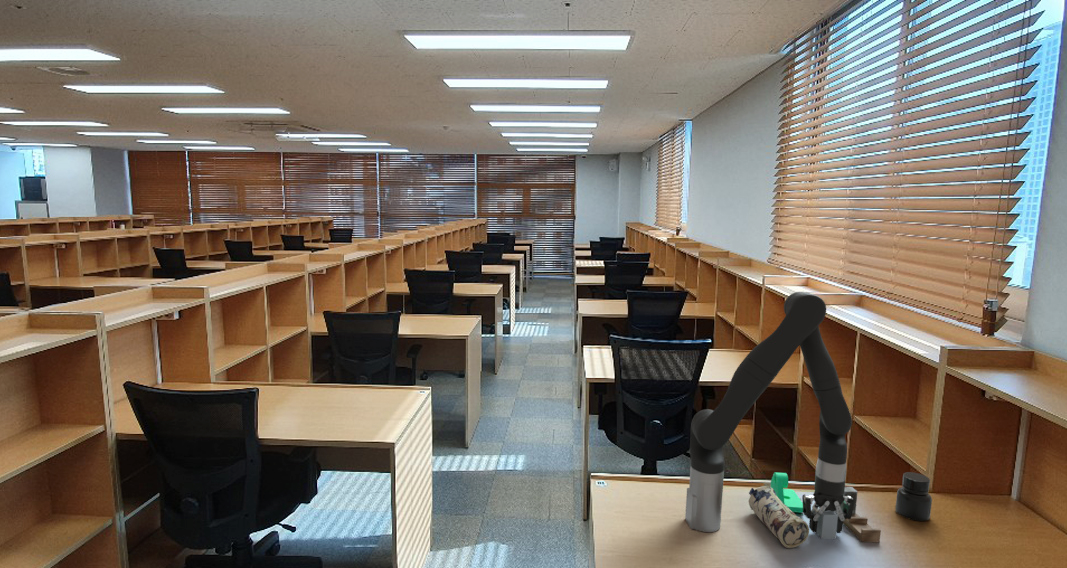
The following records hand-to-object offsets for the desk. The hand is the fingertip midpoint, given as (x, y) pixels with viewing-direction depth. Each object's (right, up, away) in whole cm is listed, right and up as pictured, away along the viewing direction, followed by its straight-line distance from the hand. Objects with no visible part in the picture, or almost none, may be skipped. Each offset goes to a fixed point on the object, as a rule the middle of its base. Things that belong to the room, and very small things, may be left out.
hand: (825, 531), depth 169 cm
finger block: (0, -1, 0) cm, 1 cm away
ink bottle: (+33, 0, +13) cm, 35 cm away
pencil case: (-13, -1, +2) cm, 13 cm away
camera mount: (-4, +1, +17) cm, 18 cm away
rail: (+11, -1, +4) cm, 12 cm away
